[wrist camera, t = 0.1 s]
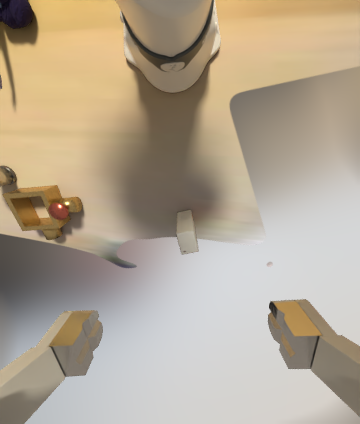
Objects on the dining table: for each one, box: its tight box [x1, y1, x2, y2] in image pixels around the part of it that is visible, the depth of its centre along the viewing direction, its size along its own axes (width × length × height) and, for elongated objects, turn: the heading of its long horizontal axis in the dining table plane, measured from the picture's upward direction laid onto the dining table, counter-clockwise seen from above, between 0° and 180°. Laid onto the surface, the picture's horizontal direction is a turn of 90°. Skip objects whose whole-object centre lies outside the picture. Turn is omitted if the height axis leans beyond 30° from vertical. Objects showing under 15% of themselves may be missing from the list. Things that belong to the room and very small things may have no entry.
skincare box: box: [176, 210, 198, 254], centre depth 44 cm, size 6×4×12 cm
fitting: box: [2, 185, 82, 240], centre depth 46 cm, size 14×15×6 cm
